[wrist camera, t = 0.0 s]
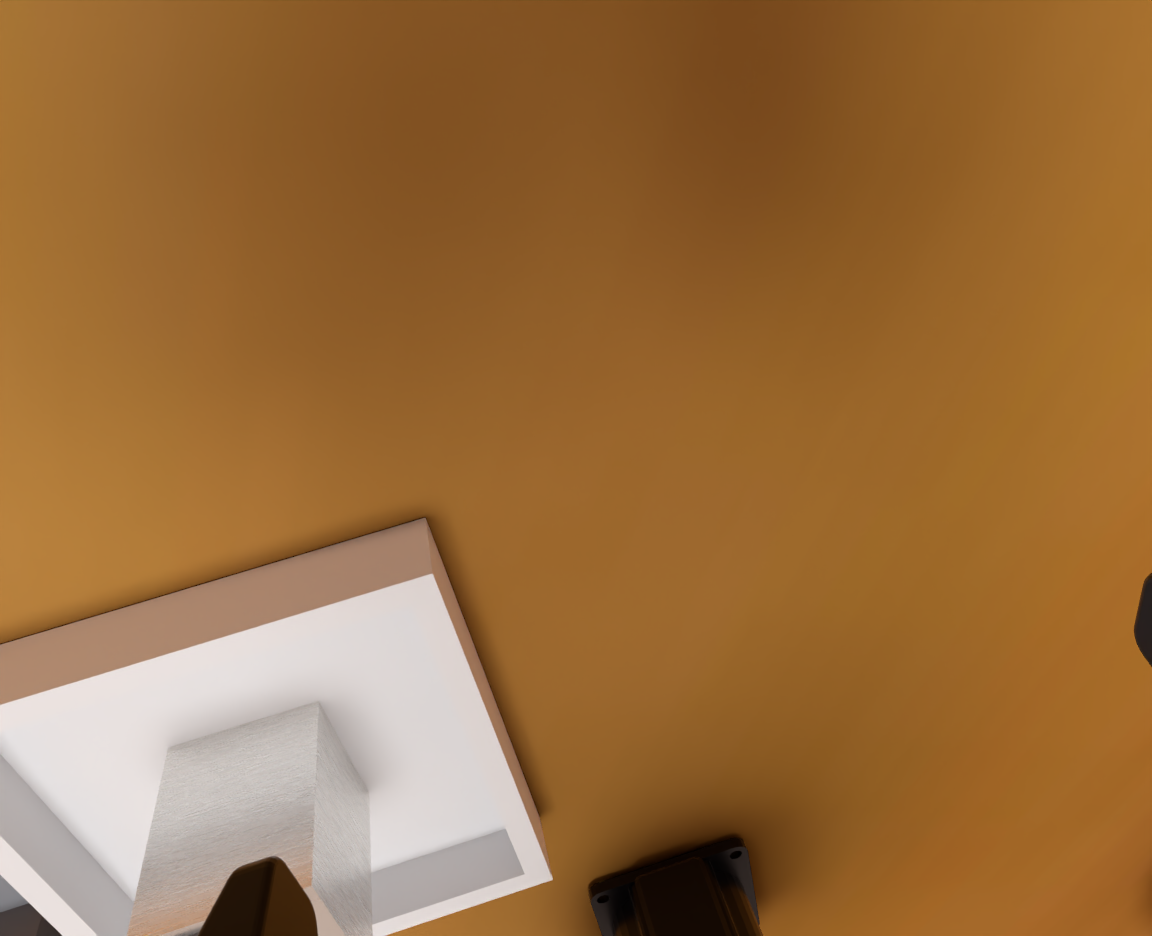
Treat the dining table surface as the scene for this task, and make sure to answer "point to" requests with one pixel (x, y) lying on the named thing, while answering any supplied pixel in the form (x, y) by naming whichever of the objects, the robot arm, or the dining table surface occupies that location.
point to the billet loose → (258, 824)
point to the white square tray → (257, 690)
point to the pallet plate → (20, 915)
